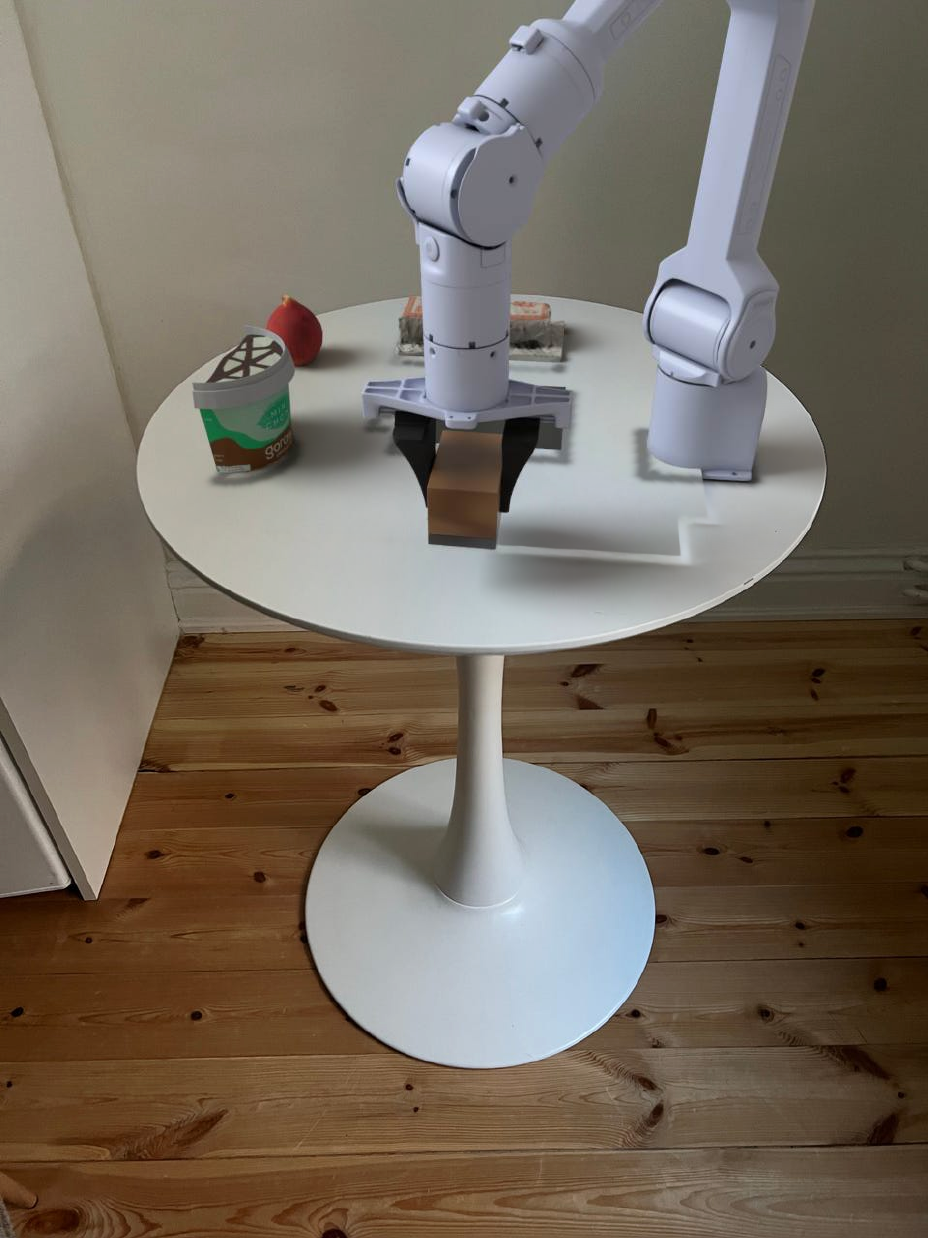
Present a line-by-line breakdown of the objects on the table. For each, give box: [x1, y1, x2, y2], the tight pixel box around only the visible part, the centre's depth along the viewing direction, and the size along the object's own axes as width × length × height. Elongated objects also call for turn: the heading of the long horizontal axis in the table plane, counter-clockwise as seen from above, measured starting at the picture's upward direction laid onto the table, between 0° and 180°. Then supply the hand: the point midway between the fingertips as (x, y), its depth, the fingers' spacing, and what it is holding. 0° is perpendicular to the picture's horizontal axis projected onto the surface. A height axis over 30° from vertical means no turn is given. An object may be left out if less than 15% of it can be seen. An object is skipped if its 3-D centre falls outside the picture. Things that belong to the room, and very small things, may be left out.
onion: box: [265, 294, 324, 367], centre depth 96 cm, size 6×6×8 cm
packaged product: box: [394, 295, 565, 363], centre depth 100 cm, size 18×5×10 cm
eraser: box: [427, 430, 503, 551], centre depth 69 cm, size 5×8×5 cm, turn 173°
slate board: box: [436, 385, 567, 451], centre depth 89 cm, size 16×13×1 cm
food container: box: [192, 325, 296, 474], centre depth 82 cm, size 12×6×10 cm, turn 168°
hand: (467, 503), depth 69 cm, fingers closed on eraser, 5 cm apart
